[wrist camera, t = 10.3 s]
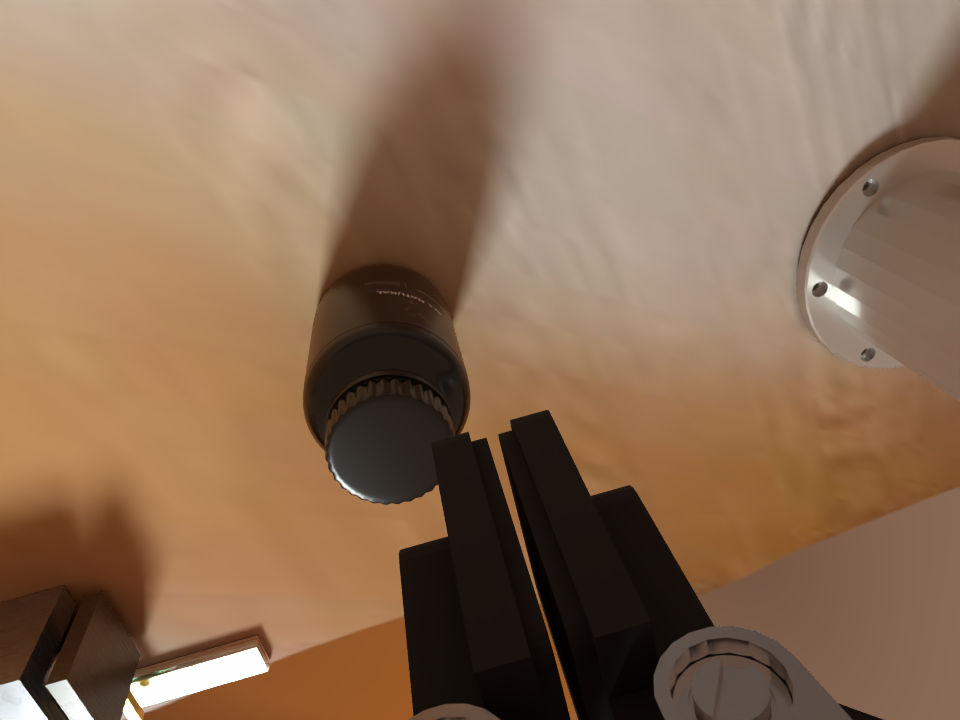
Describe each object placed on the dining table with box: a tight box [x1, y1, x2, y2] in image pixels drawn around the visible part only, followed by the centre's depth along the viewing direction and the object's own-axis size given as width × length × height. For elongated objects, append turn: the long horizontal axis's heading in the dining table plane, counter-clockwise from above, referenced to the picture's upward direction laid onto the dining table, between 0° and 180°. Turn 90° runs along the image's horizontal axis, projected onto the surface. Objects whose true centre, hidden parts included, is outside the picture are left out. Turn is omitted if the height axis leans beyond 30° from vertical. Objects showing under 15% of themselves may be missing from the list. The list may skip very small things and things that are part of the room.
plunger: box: [42, 592, 144, 720], centre depth 41 cm, size 11×8×6 cm
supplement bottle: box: [303, 264, 470, 505], centre depth 33 cm, size 7×7×12 cm
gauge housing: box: [0, 585, 270, 720], centre depth 41 cm, size 20×9×6 cm, turn 103°
